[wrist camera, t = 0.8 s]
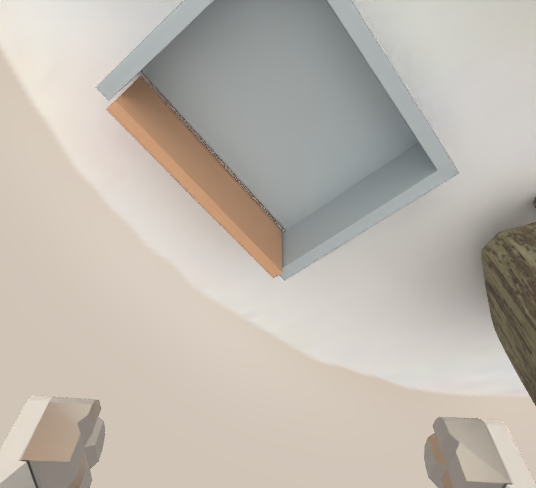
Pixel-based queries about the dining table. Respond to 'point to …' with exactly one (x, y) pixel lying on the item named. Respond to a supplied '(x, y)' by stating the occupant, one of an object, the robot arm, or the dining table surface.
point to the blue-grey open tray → (295, 113)
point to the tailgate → (199, 173)
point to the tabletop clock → (514, 297)
